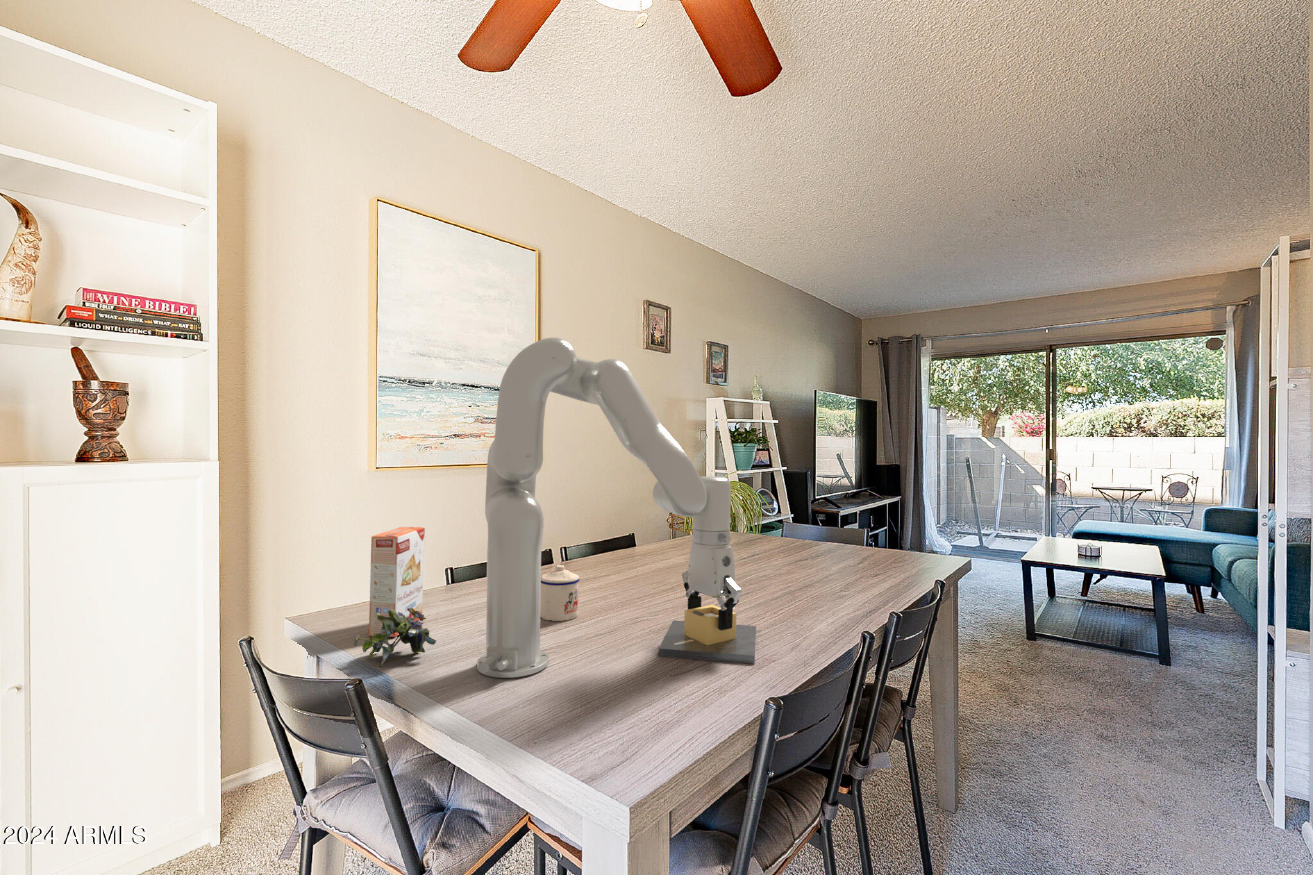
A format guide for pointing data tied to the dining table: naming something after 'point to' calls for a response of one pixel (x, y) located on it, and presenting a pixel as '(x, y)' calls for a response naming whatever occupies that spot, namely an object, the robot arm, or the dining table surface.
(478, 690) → the dining table surface
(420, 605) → the cracker box
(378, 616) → the passion flower
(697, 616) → the collar
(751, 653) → the post plate
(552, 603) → the teacup with lid
